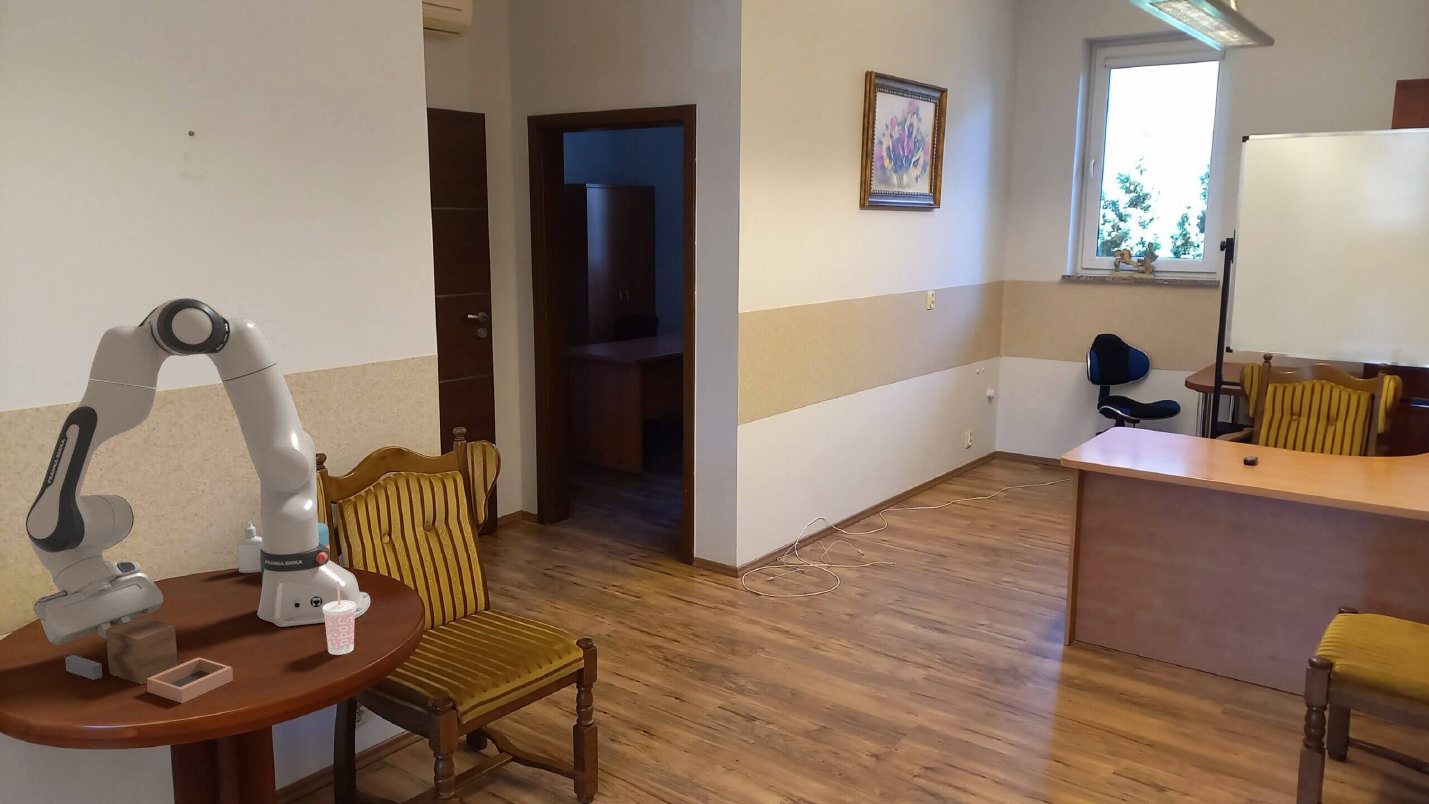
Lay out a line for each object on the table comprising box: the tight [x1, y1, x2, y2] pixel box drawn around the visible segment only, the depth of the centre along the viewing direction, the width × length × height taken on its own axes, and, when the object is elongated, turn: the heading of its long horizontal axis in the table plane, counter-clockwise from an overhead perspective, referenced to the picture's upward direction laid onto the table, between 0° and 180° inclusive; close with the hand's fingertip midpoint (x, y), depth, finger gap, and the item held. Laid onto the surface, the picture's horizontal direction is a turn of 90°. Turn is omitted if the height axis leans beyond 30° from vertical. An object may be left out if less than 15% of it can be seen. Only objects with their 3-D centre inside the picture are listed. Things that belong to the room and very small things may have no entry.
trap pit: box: [146, 657, 234, 704], centre depth 172 cm, size 9×10×2 cm
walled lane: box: [64, 654, 103, 681], centre depth 181 cm, size 8×13×2 cm, turn 155°
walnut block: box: [105, 616, 178, 685], centre depth 177 cm, size 9×7×8 cm
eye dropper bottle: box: [237, 521, 262, 574], centre depth 230 cm, size 4×6×12 cm
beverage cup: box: [322, 581, 356, 656], centre depth 187 cm, size 6×6×14 cm
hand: (124, 643), depth 179 cm, fingers closed
